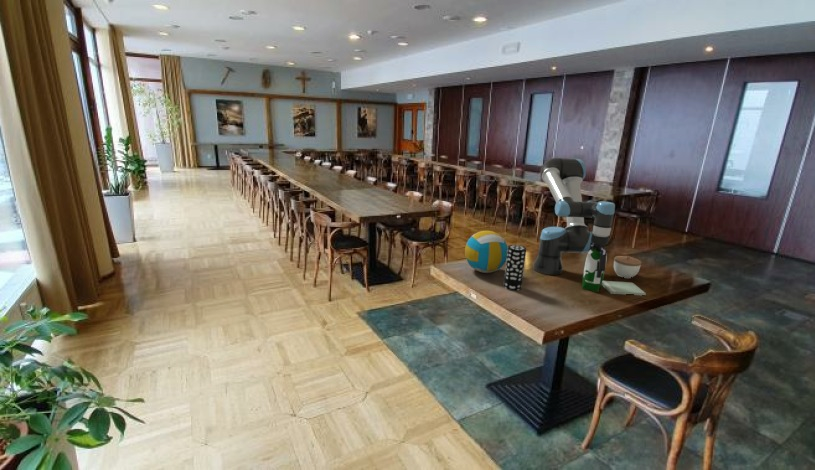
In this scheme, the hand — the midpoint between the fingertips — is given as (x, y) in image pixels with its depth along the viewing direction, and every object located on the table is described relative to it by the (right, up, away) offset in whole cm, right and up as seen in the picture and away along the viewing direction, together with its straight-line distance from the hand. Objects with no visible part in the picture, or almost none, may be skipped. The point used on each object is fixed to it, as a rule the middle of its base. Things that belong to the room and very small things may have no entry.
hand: (592, 279), depth 193 cm
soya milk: (0, -5, +1) cm, 5 cm away
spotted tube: (-39, -4, -2) cm, 40 cm away
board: (+15, -5, +1) cm, 16 cm away
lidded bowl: (+26, 0, +19) cm, 32 cm away
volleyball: (-49, +2, +17) cm, 52 cm away
